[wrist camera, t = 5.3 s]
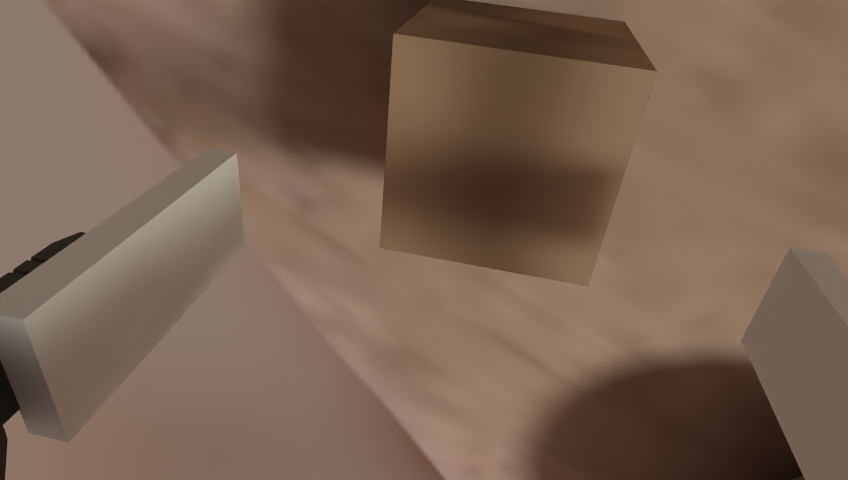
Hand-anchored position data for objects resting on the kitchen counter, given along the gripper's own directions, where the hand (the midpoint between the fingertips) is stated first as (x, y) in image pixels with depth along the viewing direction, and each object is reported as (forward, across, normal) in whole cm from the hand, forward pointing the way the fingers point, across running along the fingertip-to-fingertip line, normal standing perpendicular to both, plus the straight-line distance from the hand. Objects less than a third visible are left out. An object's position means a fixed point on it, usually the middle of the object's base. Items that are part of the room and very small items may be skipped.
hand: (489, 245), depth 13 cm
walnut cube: (+11, 0, 0) cm, 11 cm away
